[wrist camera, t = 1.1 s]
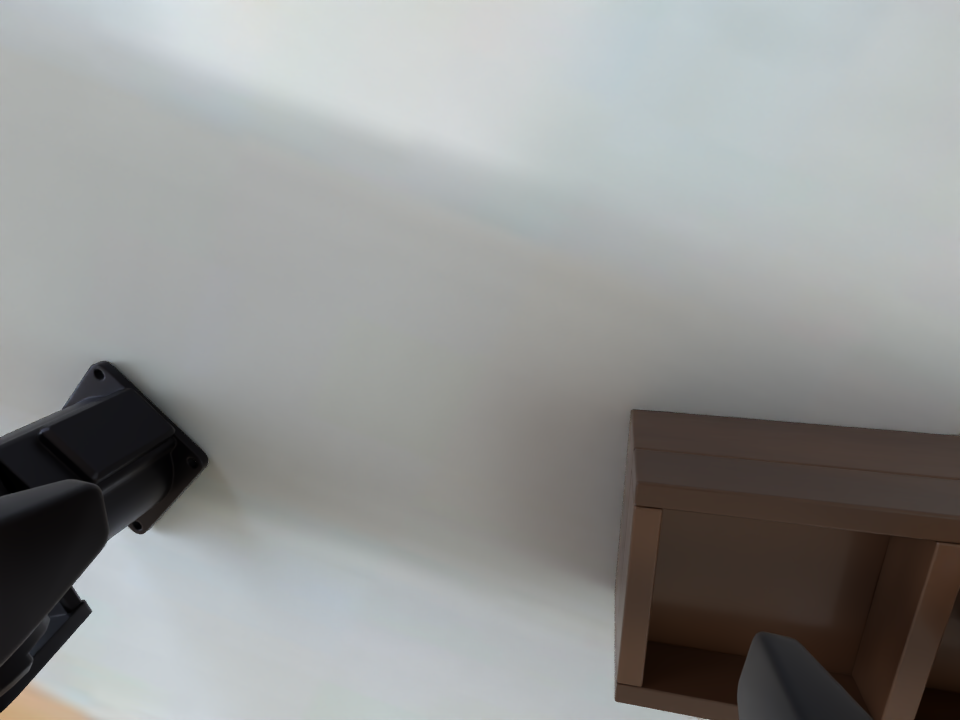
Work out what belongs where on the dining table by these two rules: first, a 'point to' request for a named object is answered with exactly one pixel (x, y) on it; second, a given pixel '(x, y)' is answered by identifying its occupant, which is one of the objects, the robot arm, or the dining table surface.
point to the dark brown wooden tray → (788, 561)
